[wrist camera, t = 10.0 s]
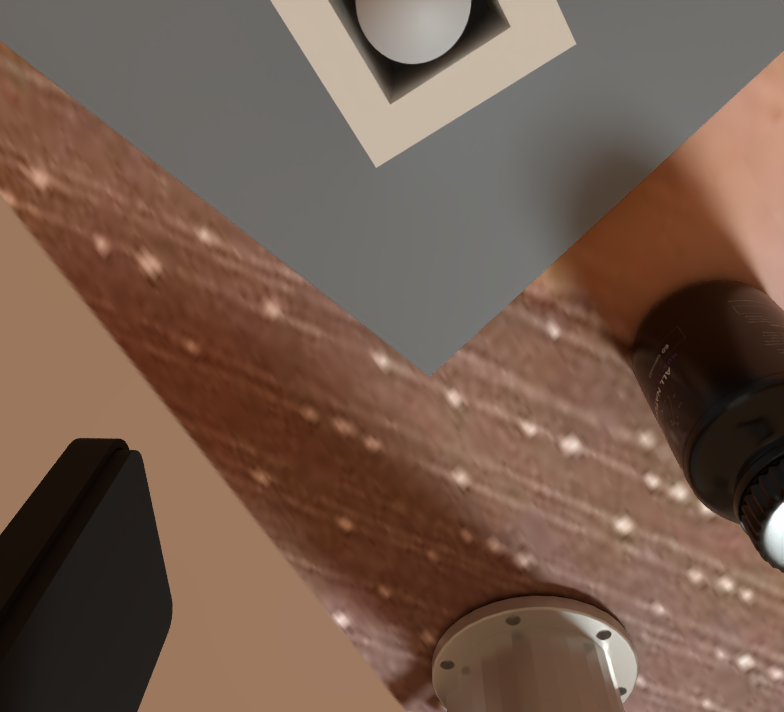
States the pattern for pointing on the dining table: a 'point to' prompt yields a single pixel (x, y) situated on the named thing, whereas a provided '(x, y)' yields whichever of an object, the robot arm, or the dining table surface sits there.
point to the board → (417, 163)
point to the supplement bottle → (722, 400)
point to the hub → (421, 67)
